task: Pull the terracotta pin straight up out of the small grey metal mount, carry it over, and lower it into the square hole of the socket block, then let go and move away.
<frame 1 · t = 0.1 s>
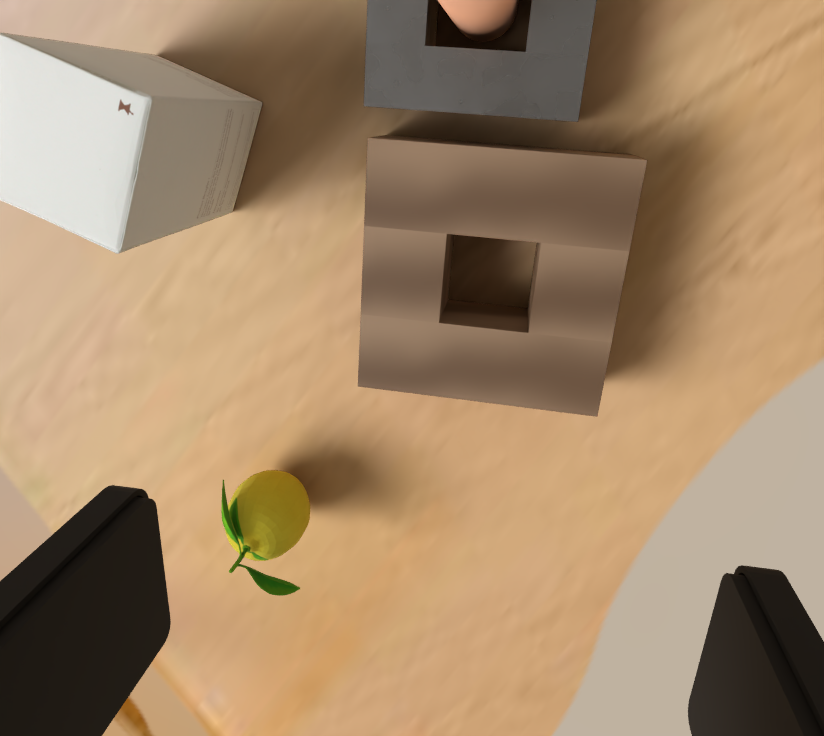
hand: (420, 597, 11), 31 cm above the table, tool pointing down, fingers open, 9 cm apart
supplement box: (196, 137, 40), on the table
socket block: (492, 264, 40), on the table
pin mount: (484, 4, 35), on the table
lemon: (290, 484, 48), on the table
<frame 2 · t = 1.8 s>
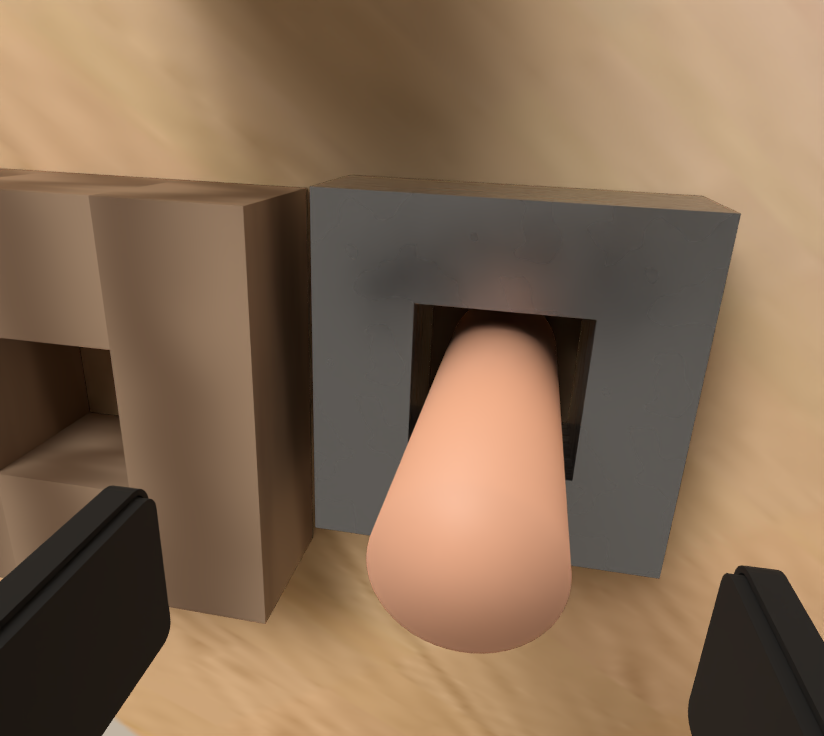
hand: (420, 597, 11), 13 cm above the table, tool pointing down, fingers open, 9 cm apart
socket block: (138, 361, 25), on the table
pin mount: (502, 349, 22), on the table
pin: (490, 424, 17), in the pin mount
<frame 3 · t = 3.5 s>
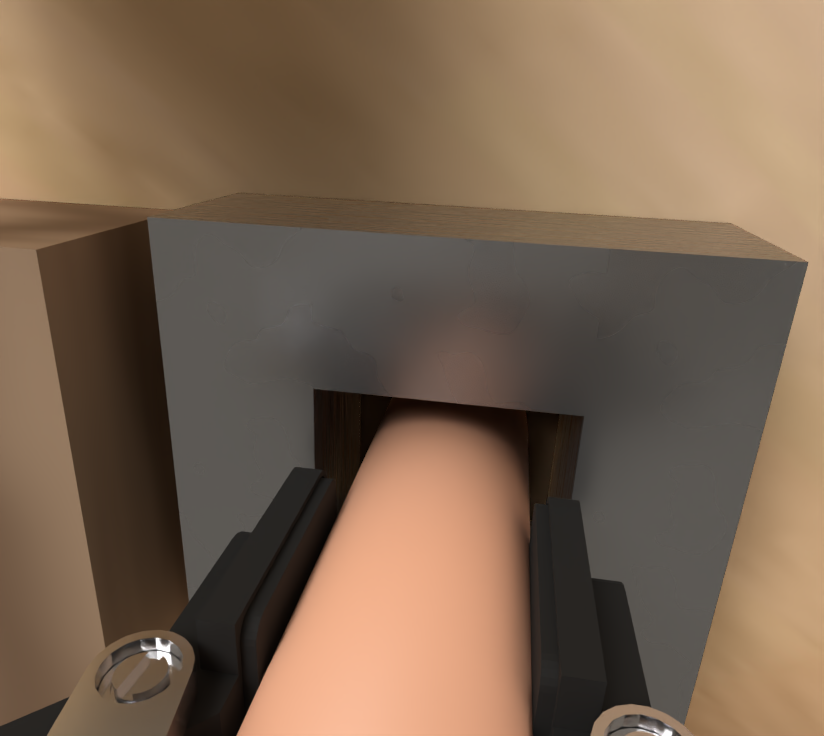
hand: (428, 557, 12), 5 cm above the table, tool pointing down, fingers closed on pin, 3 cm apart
pin mount: (456, 427, 16), on the table
pin: (423, 584, 11), in the pin mount, touching gripper
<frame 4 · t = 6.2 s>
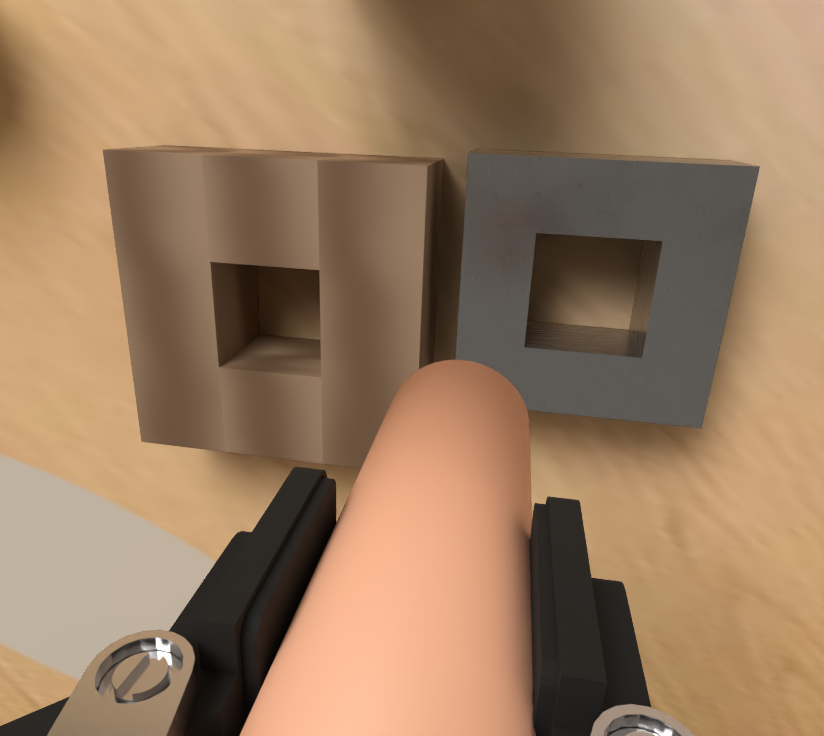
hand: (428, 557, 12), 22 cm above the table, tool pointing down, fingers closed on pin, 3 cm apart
socket block: (303, 293, 34), on the table
pin mount: (583, 275, 31), on the table
pin: (426, 580, 11), point 22 cm above the table, touching gripper
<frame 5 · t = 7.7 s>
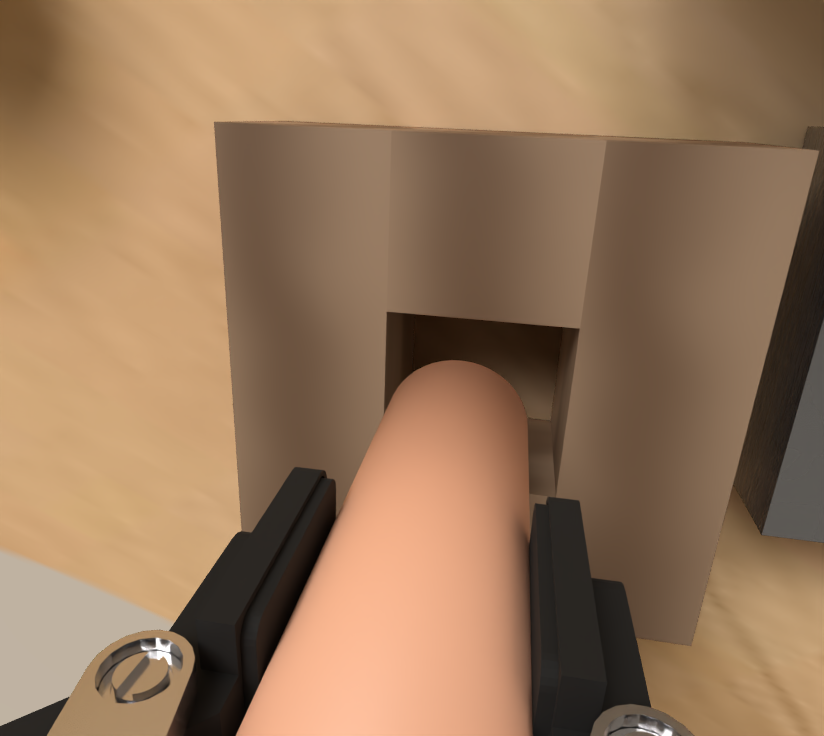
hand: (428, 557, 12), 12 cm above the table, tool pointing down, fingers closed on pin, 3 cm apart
socket block: (485, 347, 22), on the table
pin: (423, 581, 11), point 12 cm above the table, touching gripper
when the fingers open (7 cm above the table, at t = 8.9 s): pin drops 1 cm, resting in socket block.
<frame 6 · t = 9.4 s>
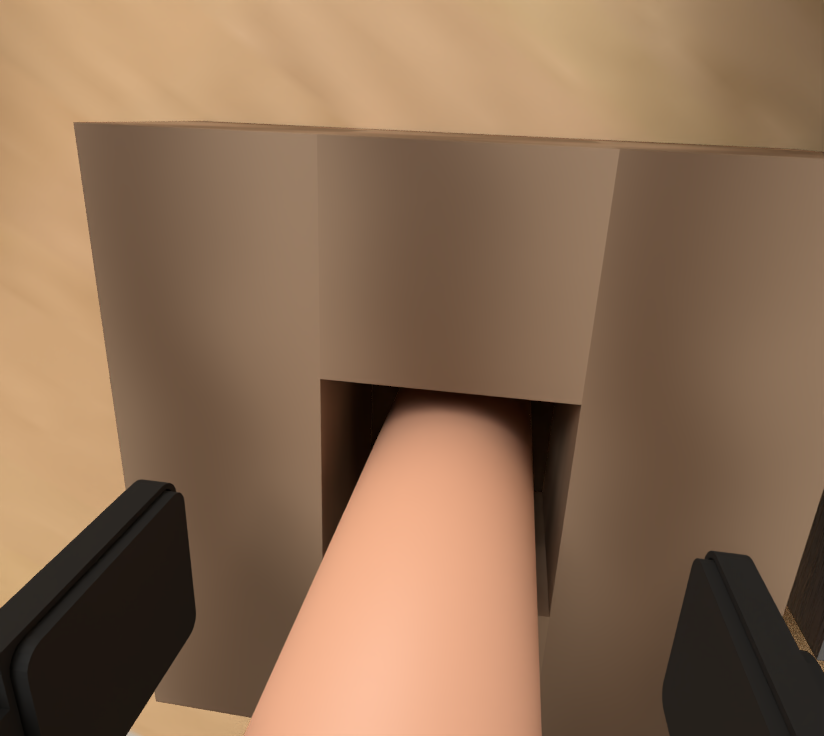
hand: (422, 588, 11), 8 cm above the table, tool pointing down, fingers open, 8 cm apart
socket block: (460, 403, 18), on the table
pin: (438, 531, 12), in the socket block
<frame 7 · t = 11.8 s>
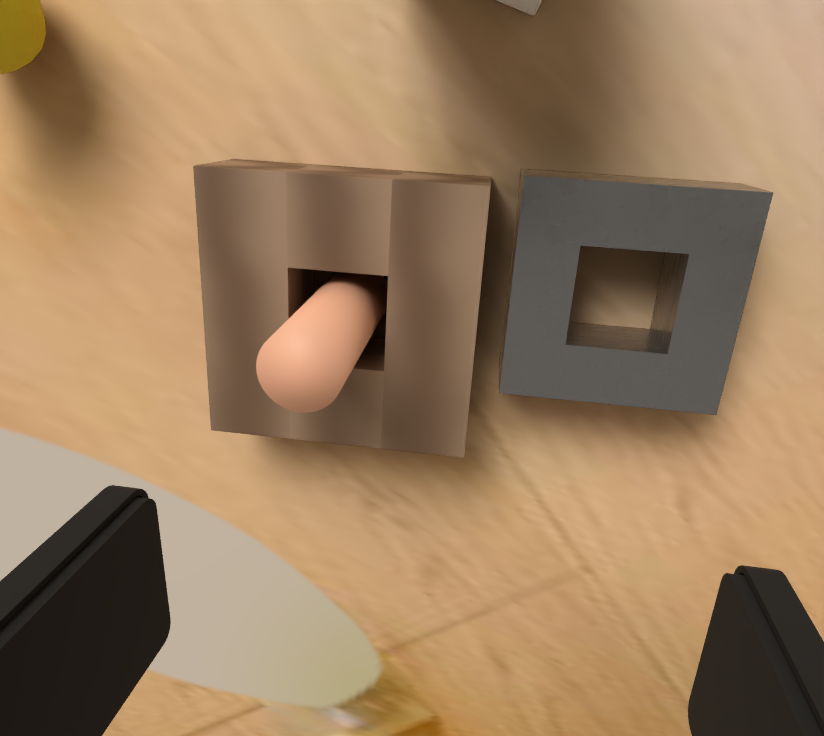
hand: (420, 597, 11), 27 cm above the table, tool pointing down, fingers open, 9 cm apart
socket block: (356, 294, 37), on the table
pin mount: (611, 281, 35), on the table
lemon: (28, 26, 34), on the table
pin: (334, 326, 31), in the socket block
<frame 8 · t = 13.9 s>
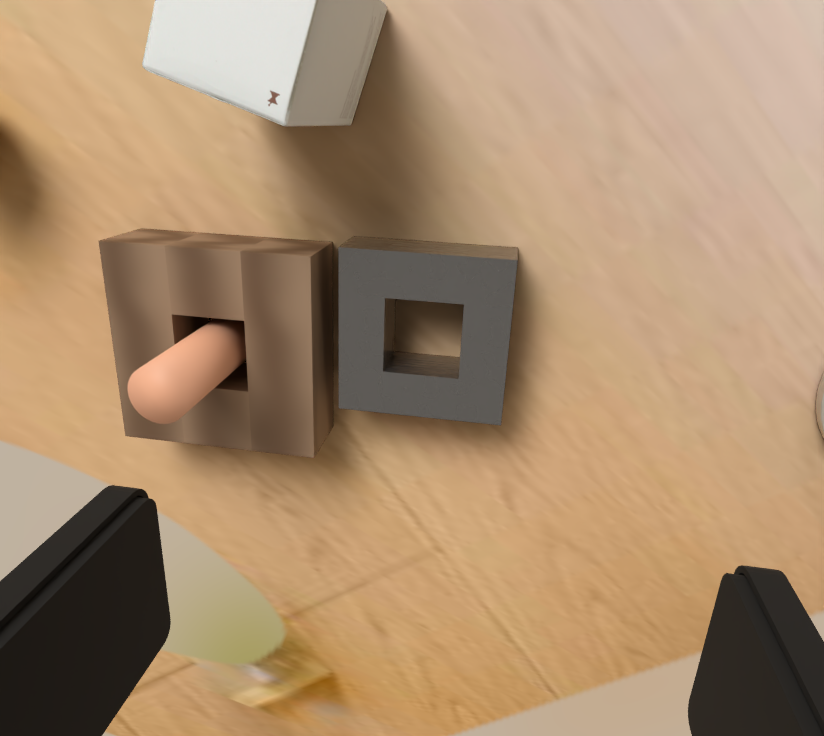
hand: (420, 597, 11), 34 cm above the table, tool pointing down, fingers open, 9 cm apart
supplement box: (316, 46, 40), on the table
socket block: (240, 330, 47), on the table
pin mount: (430, 320, 45), on the table
pin: (205, 358, 42), in the socket block
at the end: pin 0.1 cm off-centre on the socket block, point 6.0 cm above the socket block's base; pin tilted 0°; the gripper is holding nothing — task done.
